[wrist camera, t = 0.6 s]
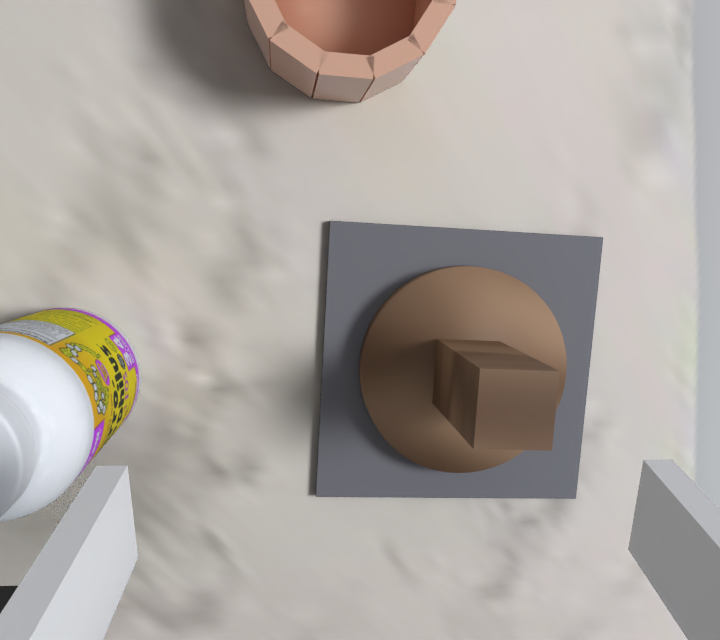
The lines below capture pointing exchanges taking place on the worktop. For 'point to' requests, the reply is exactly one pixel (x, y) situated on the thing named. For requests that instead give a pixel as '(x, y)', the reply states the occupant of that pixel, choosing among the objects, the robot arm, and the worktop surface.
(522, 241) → the mat
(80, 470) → the supplement bottle
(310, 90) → the bowl
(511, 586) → the worktop surface
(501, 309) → the lid
